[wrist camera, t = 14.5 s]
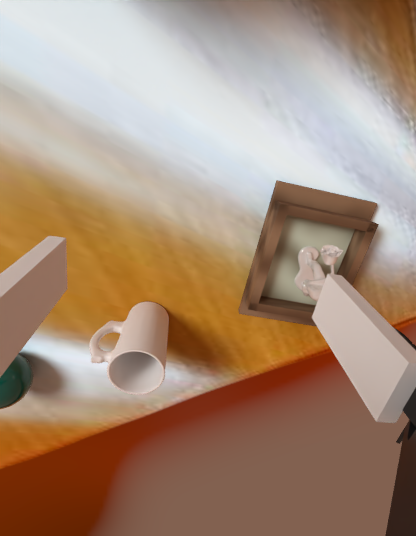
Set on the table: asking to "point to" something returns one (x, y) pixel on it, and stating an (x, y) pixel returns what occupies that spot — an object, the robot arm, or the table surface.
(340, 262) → the brown picture frame
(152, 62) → the table surface
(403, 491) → the robot arm
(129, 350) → the mug
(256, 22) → the table surface
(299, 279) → the figurine
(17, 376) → the sphere
